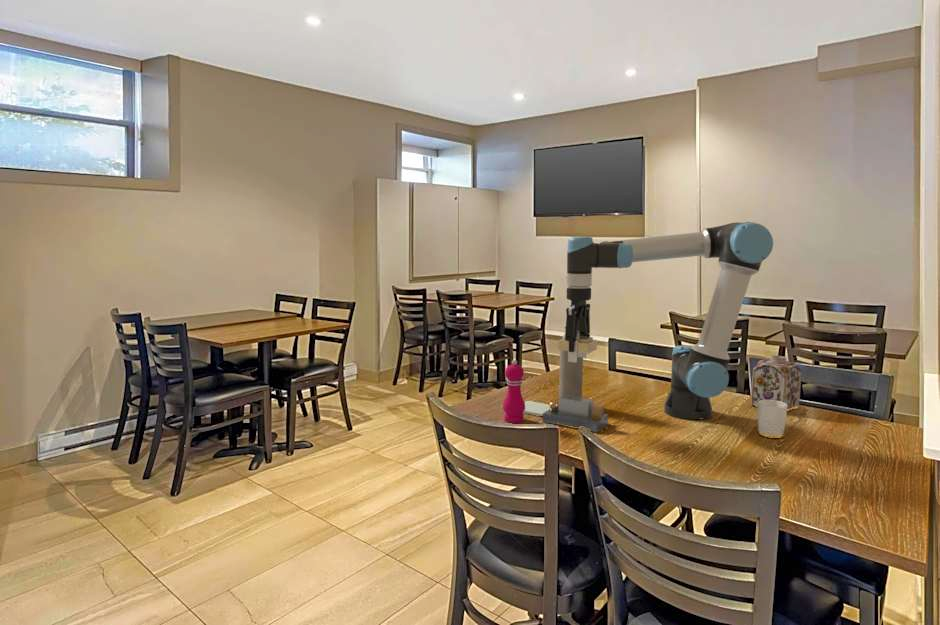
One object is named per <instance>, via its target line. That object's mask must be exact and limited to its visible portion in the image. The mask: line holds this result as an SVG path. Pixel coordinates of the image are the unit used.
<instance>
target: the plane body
mask: <svg viewBox="0 0 940 625" xmlns="http://www.w3.org/2000/svg"><path fill="white" fill-rule="evenodd" d="M549 405H550V409H549V410H548V411H546V412H544V413H543V417H542V423H544V422H547V423H546V424H549V423H553V424H552V425H554V424H557V423H559V424H560V425H562V424H563V425H568V426H573V427H577V428H578V427H580V426H584V427H586V428H588V429H590V430H591V431H593V432H592V433H596V434H597V433H598V432H599V431H600V430H602V429H603V428H605V426H607V425H608V424H609V414H608V413H607V414H606V413H605V405H603V404H599V403H594V399H591V398H584V397H582V398H580V397H574V396H568V395H563V396H561V397H560V398H559V397H558V401H550V402H549Z"/></svg>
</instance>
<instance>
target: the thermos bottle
mask: <svg viewBox="0 0 940 625" xmlns="http://www.w3.org/2000/svg"><path fill="white" fill-rule="evenodd" d="M564 329H565V330H564V334H563V335H562V336H561V337H562V338H561V339H563V338H565V333H566V326H565V327H564ZM577 337H579V329H578V332H577ZM583 359H584V358H583V357H578V352H577V362H576V363H575V362H568V351H564V350H559V371H558V372H559V373H558V374H559V377H558V380H559V381H558V383H559V385H558V399H559V398H560V397H561V396H563V395H568V396H574V397H580V398H583V375H584V374H583V371H584V370H583V368H584V360H583Z"/></svg>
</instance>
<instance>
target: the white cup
mask: <svg viewBox="0 0 940 625" xmlns="http://www.w3.org/2000/svg"><path fill="white" fill-rule="evenodd" d="M787 408H788V405H787V404H786V403H784V402H780V401H776V400H760V401H758V407H757V425H758V426H757V432H758V431H759V432H760V433H763V434H767V435H775V436H776V435H782V434H783V435H784V432H785V428H786V427H785V426H786V421H787V414H788V412H787Z"/></svg>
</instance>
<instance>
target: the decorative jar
mask: <svg viewBox="0 0 940 625" xmlns="http://www.w3.org/2000/svg"><path fill="white" fill-rule="evenodd" d="M751 379H752V380H751V390H750V391H751V392H750V404H751V405H755V406H758V401H760V400H776V401H780V402H784V403H786V404H787V405H788V408H787V409H790V408H792V407H795V406H800V400H801V399H800V397H801V384H802V370H801V368H800V367H799V366H798V365H797V364H796V363H795V362H793V361H790V360H789V361H788V360H787V358H786V356H782V355H771V356H770V359H769V358H768V359H767V358H766V359H762V360H759V361H758V362H757V364H755V366H754V367H753V371H752V378H751ZM751 405H750V406H751Z"/></svg>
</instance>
